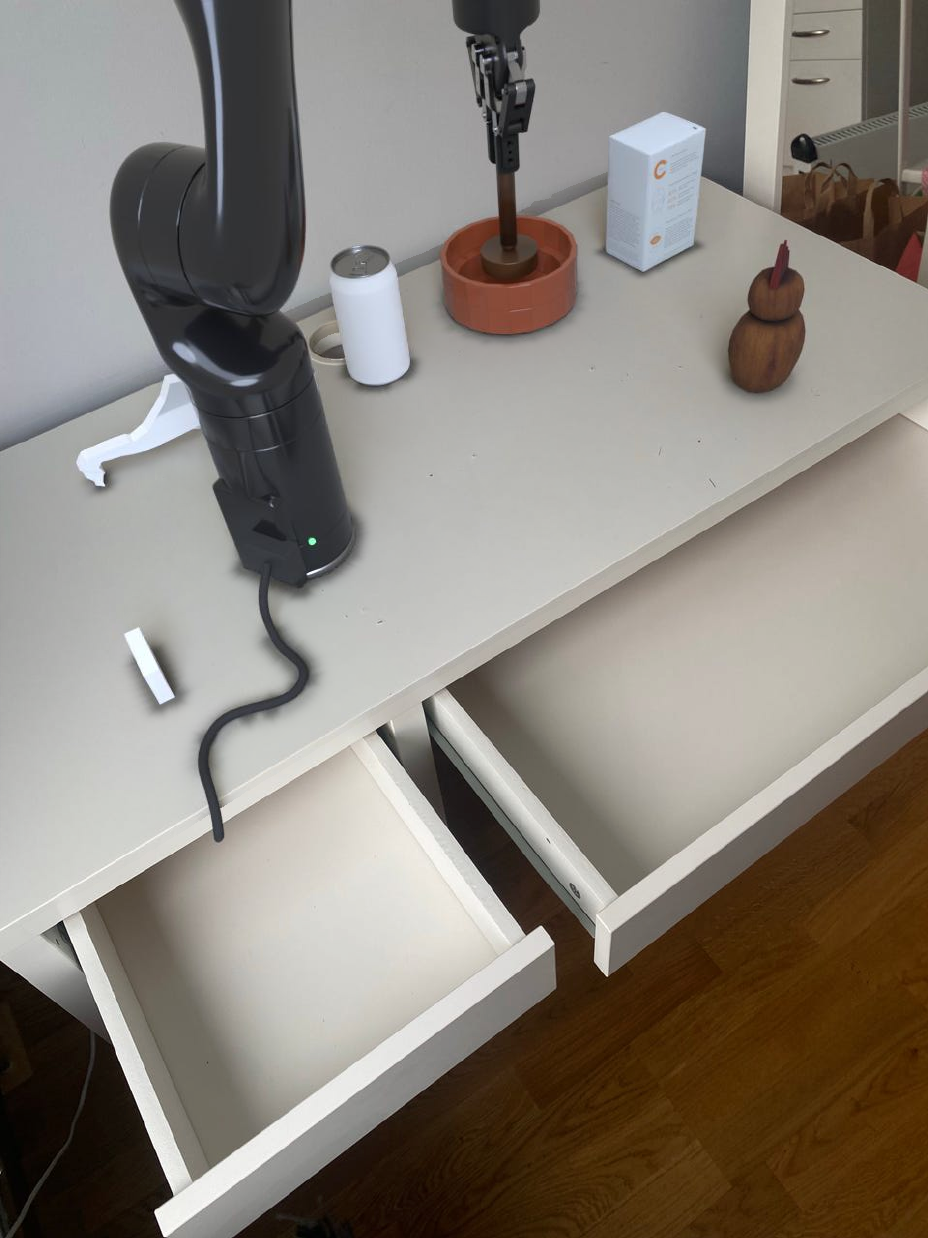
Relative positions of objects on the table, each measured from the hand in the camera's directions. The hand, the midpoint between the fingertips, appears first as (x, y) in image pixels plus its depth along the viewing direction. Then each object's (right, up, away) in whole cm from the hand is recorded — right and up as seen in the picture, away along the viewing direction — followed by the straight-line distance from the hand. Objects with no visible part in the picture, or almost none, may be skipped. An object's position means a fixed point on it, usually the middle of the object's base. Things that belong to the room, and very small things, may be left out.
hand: (504, 165), depth 91 cm
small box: (+17, -2, +16) cm, 23 cm away
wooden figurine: (+24, -21, -1) cm, 32 cm away
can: (-13, -18, +6) cm, 23 cm away
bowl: (+1, -9, +11) cm, 15 cm away
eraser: (-28, -49, -18) cm, 59 cm away
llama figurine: (-31, -27, 0) cm, 41 cm away
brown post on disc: (+1, -7, +8) cm, 10 cm away
